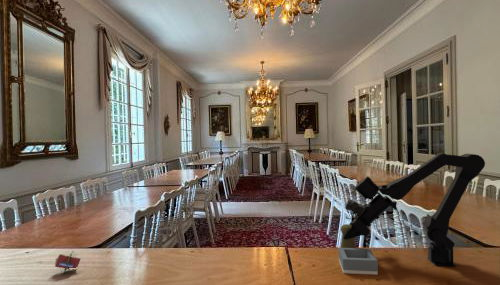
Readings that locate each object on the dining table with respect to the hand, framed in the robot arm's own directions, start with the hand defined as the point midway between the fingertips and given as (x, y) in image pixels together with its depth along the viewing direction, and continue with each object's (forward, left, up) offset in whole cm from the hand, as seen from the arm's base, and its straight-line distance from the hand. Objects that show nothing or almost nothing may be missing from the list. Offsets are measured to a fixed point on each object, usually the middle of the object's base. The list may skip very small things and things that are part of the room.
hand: (344, 236), depth 114 cm
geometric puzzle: (+96, +25, -7) cm, 99 cm away
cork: (-1, 0, -7) cm, 7 cm away
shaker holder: (-2, +12, -7) cm, 14 cm away
